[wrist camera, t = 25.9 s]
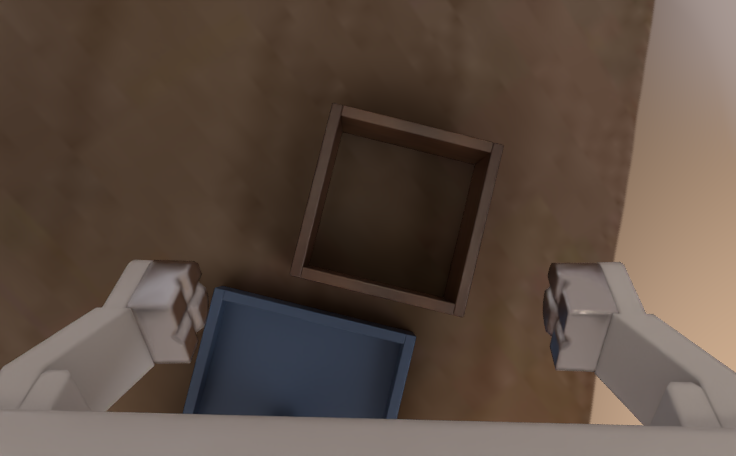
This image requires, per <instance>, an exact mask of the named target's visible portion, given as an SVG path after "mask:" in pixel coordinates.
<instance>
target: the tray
mask: <svg viewBox="0 0 736 456" xmlns="http://www.w3.org/2000/svg"><path fill="white" fill-rule="evenodd" d="M415 340H416V336H415V334H414V333H413V332H411V331H406V330H402V329H398V328H394V327H390V326H386V325H382V324H378V323H374V322H369V321H365V320H361V319H357V318H353V317H349V316H345V315H341V314H337V313H332V312H328V311H324V310H320V309H316V308H312V307H308V306H304V305H300V304H295V303H291V302H287V301H283V300H279V299H275V298H271V297H267V296H263V295H259V294H254V293H250V292H246V291H242V290H238V289H234V288H230V287H226V286H220V287H216V288H215V289H214V293H213V297H212V301H211V305H210V308H209V312H208V317H207V320H206V324H205V328H204V332H203V336H202V340H201V343H200V347H199V351H198V355H197V359H196V363H195V367H194V371H193V375H192V379H191V382H190V386H189V390H188V394H187V398H186V402H185V406H184V410H183V414H212V415H251V416H290V417H330V418H370V419H397V416H398V411H399V407H400V403H401V399H402V395H403V390H404V386H405V382H406V378H407V374H408V369H409V365H410V361H411V357H412V353H413V349H414V344H415Z"/></svg>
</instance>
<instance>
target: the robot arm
mask: <svg viewBox="0 0 736 456" xmlns="http://www.w3.org/2000/svg"><path fill="white" fill-rule="evenodd" d="M201 275H202V273H201V270H200V267H199V264H198V263H197V262H195V261H170V260H154V261H153V260H133V261H131V262H130V263H129V264H128V265H127V267H126V268H125V270H124V272H123V273H122V275H121V277H120V278H119V280H118V282H117V283H116V285H115V287H114V288H113V290H112V292H111V293H110V295H109V297H108V298H107V300H106V302H105V303H104V305H103V307H102V308H95V309H93V310H92V311H90V312H88V313H87V314H85V315H84V316H82V317H81V318H79V319H77V320H76V321H74V322H73V323H71V324H70V325H68V326H66V327H65V328H63V329H62V330H60V331H59V332H57V333H55V334H54V335H52V336H51V337H49V338H48V339H46V340H44V341H43V342H41V343H40V344H38V345H37V346H35V347H34V348H32V349H30V350H29V351H27V352H26V353H24V354H23V355H21V356H19V357H18V358H16V359H15V360H13V361H12V362H10V363H8V364H7V365H5V366H4V367H3V368H2V369H1V371H0V456H736V373H735V372H734V371H733V370H731V369H730V368H728V367H727V366H726V365H724V364H723V363H721V362H720V361H718V360H717V359H715V358H714V357H713V356H711V355H710V354H709V353H707V352H706V351H704V350H703V349H701V348H700V347H699V346H697V345H696V344H694V343H693V342H692V341H690V340H689V339H687V338H686V337H684V336H683V335H682V334H680V333H678V331H676V330H675V329H673V328H672V327H671V326H669V325H668V324H666V323H665V322H663V321H662V320H661V319H659V318H658V317H656V316H655V315H653V314H646V313H645V310H644V308H643V306H642V303H641V301H640V299H639V297H638V295H637V293H636V290H635V288H634V286H633V284H632V281H631V279H630V277H629V275H628V273H627V270H626V268H625V266H624V265H623V264H622V263H621V262H598V263H551V265H550V267H549V272H548V280H549V283H550V287H549V288H548V289H546V290H545V293H544V299H543V319H544V325H545V329H546V332H547V333H549V334H550V335H551V336H552V338H551V343H550V350H551V353H552V357H553V361H554V365H555V369H556V370H565V371H587V372H595V374H596V375H597V376H598V377H599V378H600V380H601V381H602V382H603V383H604V384H605V385H606V386H607V387H608V388H609V389H610V390H611V391H612V392H613V393H614V394H615V395H616V396H617V398H618V399H619V400H620V401H621V402H622V403H623V404H624V405H625V406H626V407H627V408H628V409H629V410H630V411H631V412H632V413H633V414H634V416H635V417H636V418H637V419H638V420H639V421H640V422H641V423H642V424H643V425H644V426H642V425H601V424H563V423H521V422H483V421H446V420H409V419H370V418H330V417H290V416H251V415H212V414H172V413H133V412H106V411H107V410H108V409H109V408H110V407H111V406H112V405H113V404H114V403H115V402H116V401H117V400H118V399H119V398H120V397H121V396H123V395H124V394H125V393H126V392H127V391H128V390H129V389H130V388H131V387H132V386H133V385H134V384H135V383H136V382H137V381H139V380H140V379H141V378H142V377H143V376H144V375H145V374H146V373H147V372H148V371H149V370H150V369H151V368H152V367H153V366H154V364H158V363H190V362H191V359H192V357H193V354H194V352H195V349H196V346H197V344H198V338H197V335H196V332H198V331H199V330H200V329H202V328H203V327H204V326H205V323H206V320H207V317H208V309H209V300H208V294H207V290H206V288H205V287H204V286H203V285H202V284H201V283H199V279H200V277H201Z"/></svg>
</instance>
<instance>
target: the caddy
mask: <svg viewBox="0 0 736 456" xmlns="http://www.w3.org/2000/svg"><path fill="white" fill-rule="evenodd" d="M342 131H343V132H345V133H349V134H353V135H357V136H361V137H365V138H370V139H374V140H378V141H382V142H386V143H390V144H394V145H398V146H402V147H406V148H410V149H414V150H418V151H422V152H426V153H430V154H434V155H438V156H442V157H446V158H450V159H454V160H458V161H463V162H467V163H471V164H475V167H474V172H473V176H472V180H471V184H470V188H469V193H468V197H467V201H466V205H465V209H464V214H463V218H462V222H461V226H460V231H459V235H458V239H457V243H456V247H455V252H454V256H453V260H452V264H451V269H450V273H449V277H448V281H447V285H446V290H445V294H444V298H442V297H438V296H434V295H430V294H425V293H421V292H417V291H413V290H409V289H405V288H401V287H397V286H393V285H389V284H385V283H380V282H376V281H372V280H368V279H364V278H360V277H356V276H352V275H348V274H344V273H339V272H335V271H331V270H327V269H323V268H319V267H315V266H311V265H309V264H310V260H311V256H312V252H313V248H314V244H315V240H316V236H317V232H318V227H319V223H320V219H321V215H322V211H323V207H324V203H325V199H326V195H327V191H328V187H329V183H330V179H331V175H332V171H333V167H334V163H335V159H336V155H337V151H338V147H339V143H340V139H341V135H342ZM503 147H504V145H502V144H498V143H493V142H490V141H486V140H482V139H478V138H474V137H470V136H466V135H462V134H458V133H454V132H450V131H446V130H442V129H438V128H434V127H430V126H426V125H422V124H418V123H413V122H409V121H405V120H401V119H397V118H393V117H389V116H385V115H381V114H377V113H373V112H369V111H365V110H361V109H357V108H353V107H349V106H345V105H344V106H343V105H341V104H337V103H332V107H331V111H330V115H329V119H328V122H327V126H326V130H325V134H324V138H323V142H322V146H321V150H320V154H319V158H318V162H317V166H316V170H315V174H314V178H313V182H312V186H311V190H310V194H309V198H308V202H307V206H306V210H305V214H304V218H303V222H302V226H301V230H300V234H299V238H298V242H297V246H296V250H295V254H294V258H293V262H292V266H291V270H290V275H291V276H295V277H301V278H303V279H307V280H311V281H315V282H319V283H323V284H328V285H332V286H336V287H340V288H344V289H348V290H352V291H356V292H360V293H364V294H369V295H373V296H377V297H381V298H385V299H389V300H393V301H397V302H401V303H405V304H410V305H414V306H418V307H422V308H426V309H430V310H434V311H438V312H442V313H446V314H451V315H455V316H459V317H464V313H465V309H466V305H467V301H468V296H469V292H470V288H471V284H472V279H473V275H474V271H475V267H476V262H477V258H478V254H479V250H480V245H481V241H482V237H483V233H484V228H485V224H486V220H487V216H488V211H489V207H490V203H491V199H492V194H493V190H494V186H495V182H496V177H497V173H498V169H499V164H500V160H501V156H502V152H503Z"/></svg>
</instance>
